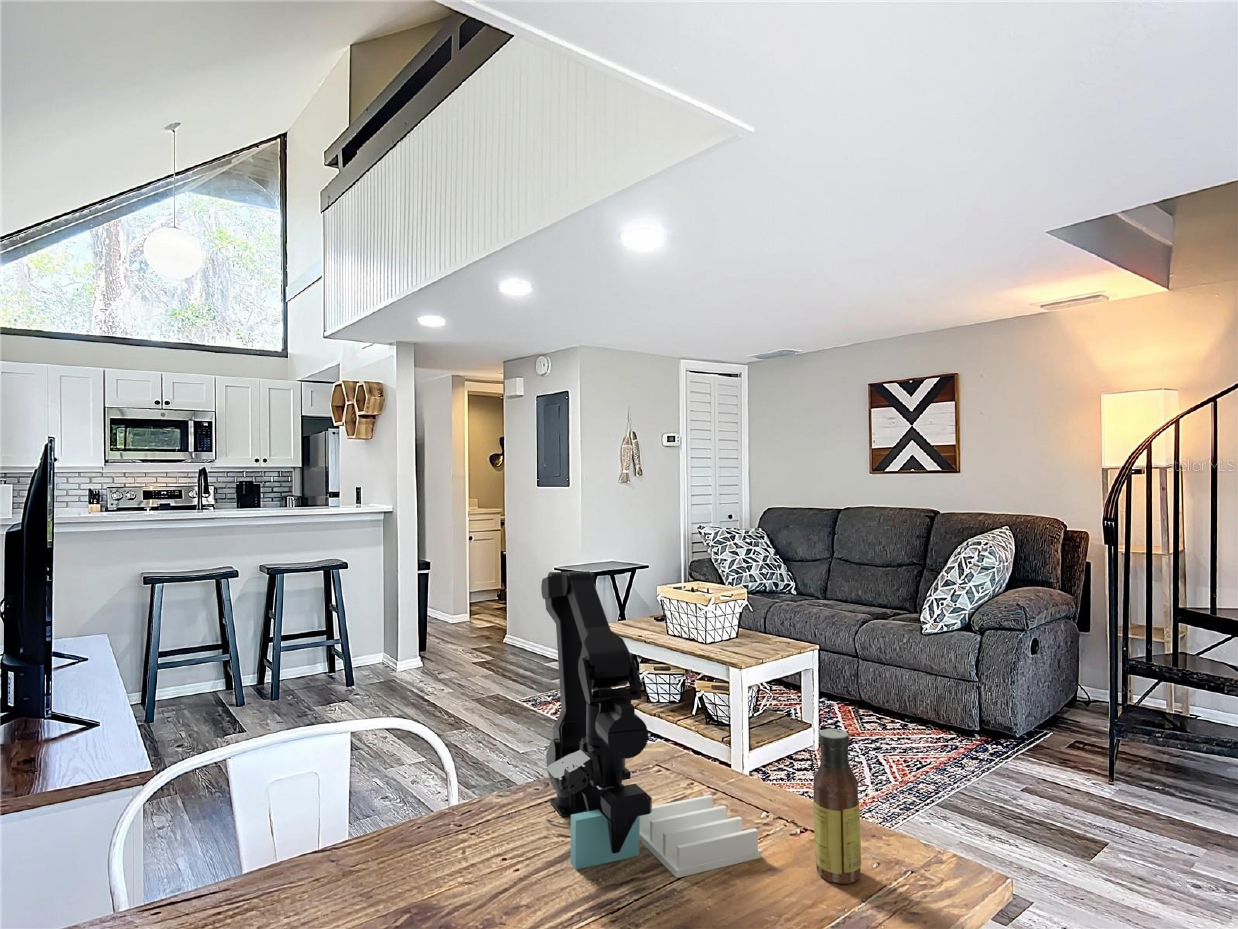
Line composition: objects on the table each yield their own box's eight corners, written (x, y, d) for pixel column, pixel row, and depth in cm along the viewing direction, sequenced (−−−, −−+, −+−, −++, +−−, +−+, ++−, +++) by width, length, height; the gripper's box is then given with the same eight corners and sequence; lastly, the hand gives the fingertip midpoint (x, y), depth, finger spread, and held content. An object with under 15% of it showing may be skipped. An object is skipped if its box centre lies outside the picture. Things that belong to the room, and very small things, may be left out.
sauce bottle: (856, 864, 110) (856, 726, 111) (865, 888, 104) (866, 741, 104) (809, 862, 111) (810, 724, 111) (816, 885, 105) (817, 739, 105)
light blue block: (570, 863, 111) (570, 814, 111) (633, 849, 115) (633, 802, 115) (575, 870, 109) (575, 820, 109) (639, 856, 113) (639, 808, 113)
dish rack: (634, 835, 119) (634, 809, 119) (712, 819, 125) (712, 794, 125) (676, 878, 107) (676, 849, 107) (761, 857, 112) (761, 830, 112)
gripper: (532, 721, 117) (532, 824, 117) (577, 765, 100) (576, 885, 100) (600, 712, 122) (599, 811, 121) (653, 752, 105) (653, 867, 104)
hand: (605, 841), depth 112 cm, fingers open, 7 cm apart
